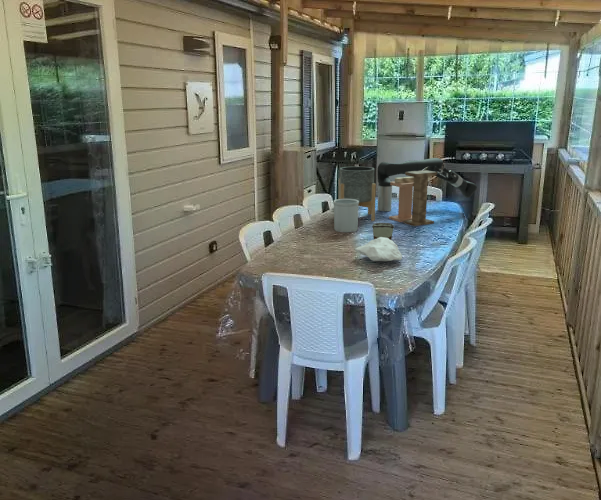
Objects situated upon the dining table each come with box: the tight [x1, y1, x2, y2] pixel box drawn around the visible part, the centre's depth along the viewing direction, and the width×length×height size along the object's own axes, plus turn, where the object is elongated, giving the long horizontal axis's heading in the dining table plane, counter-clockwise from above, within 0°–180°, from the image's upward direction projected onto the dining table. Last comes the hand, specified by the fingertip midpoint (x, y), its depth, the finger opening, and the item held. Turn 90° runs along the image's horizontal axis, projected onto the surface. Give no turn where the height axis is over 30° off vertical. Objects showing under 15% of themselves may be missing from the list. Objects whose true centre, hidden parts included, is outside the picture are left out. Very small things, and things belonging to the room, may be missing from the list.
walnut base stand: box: [402, 169, 437, 227], centre depth 339 cm, size 16×10×32 cm, turn 118°
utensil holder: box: [333, 198, 359, 233], centre depth 326 cm, size 15×15×18 cm
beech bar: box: [394, 176, 432, 183], centre depth 351 cm, size 26×3×3 cm, turn 118°
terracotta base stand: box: [388, 181, 414, 223], centre depth 352 cm, size 16×12×24 cm
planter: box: [338, 166, 377, 222], centre depth 358 cm, size 22×22×32 cm
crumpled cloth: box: [354, 237, 403, 262], centre depth 269 cm, size 24×35×9 cm
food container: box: [371, 222, 396, 241], centre depth 301 cm, size 12×6×10 cm, turn 84°
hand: (438, 168), depth 360 cm, fingers open, 8 cm apart
